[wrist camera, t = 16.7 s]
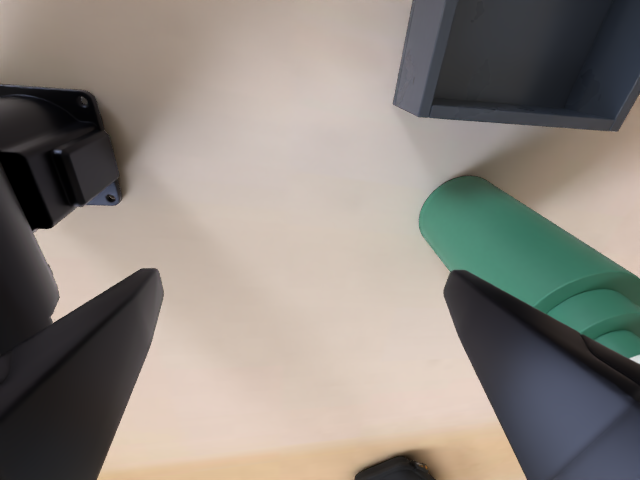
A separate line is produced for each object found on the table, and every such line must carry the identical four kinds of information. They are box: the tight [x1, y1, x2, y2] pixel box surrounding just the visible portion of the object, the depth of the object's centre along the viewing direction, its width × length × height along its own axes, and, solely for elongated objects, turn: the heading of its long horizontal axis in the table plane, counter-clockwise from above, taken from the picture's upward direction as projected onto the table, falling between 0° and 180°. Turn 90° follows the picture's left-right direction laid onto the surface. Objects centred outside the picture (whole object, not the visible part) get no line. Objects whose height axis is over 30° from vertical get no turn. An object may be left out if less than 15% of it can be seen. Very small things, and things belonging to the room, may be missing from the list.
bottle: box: [419, 176, 640, 364], centre depth 17 cm, size 6×6×15 cm
